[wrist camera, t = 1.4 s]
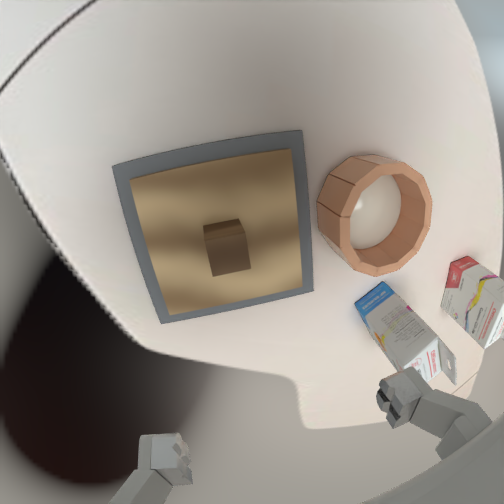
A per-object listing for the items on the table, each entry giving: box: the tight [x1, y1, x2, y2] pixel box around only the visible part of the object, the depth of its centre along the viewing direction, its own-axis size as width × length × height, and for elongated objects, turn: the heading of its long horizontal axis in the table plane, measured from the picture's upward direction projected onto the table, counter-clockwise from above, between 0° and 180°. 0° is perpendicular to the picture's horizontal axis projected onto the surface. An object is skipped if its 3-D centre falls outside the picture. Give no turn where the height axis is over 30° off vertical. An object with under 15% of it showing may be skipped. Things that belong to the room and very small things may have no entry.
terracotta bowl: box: [317, 155, 432, 277], centre depth 27 cm, size 11×11×5 cm
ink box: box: [355, 282, 457, 385], centre depth 29 cm, size 8×5×15 cm, turn 35°
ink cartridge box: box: [441, 256, 504, 349], centre depth 31 cm, size 9×5×15 cm, turn 9°
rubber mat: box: [112, 130, 314, 324], centre depth 27 cm, size 17×17×1 cm
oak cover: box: [129, 148, 303, 315], centre depth 25 cm, size 14×14×4 cm
